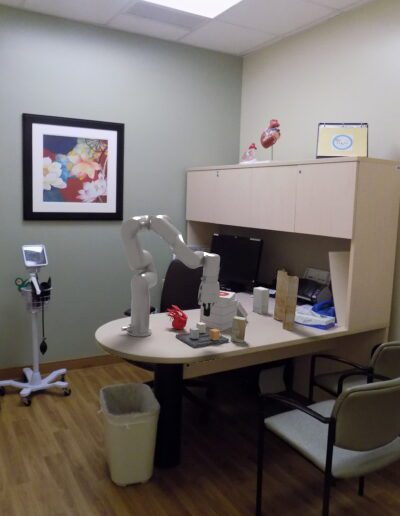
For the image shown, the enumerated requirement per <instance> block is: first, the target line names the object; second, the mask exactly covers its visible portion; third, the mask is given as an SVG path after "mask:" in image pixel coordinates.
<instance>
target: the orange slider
mask: <svg viewBox="0 0 400 516" xmlns="http://www.w3.org/2000/svg"><path fill="white" fill-rule="evenodd" d="M209 330H210V339H212V340H219V338H220V334H221V331H220V330H217V329H213V328H210V329H209Z"/></svg>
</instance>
